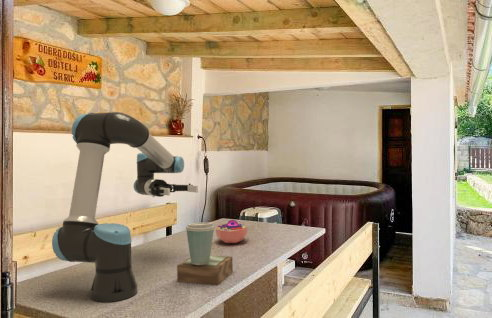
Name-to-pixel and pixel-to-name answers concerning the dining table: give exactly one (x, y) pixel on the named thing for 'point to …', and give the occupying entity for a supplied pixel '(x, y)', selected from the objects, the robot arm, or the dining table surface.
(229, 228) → the cell model
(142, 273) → the dining table surface
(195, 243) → the disposable coffee cup
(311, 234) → the dining table surface
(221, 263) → the walnut stand
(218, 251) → the dining table surface
